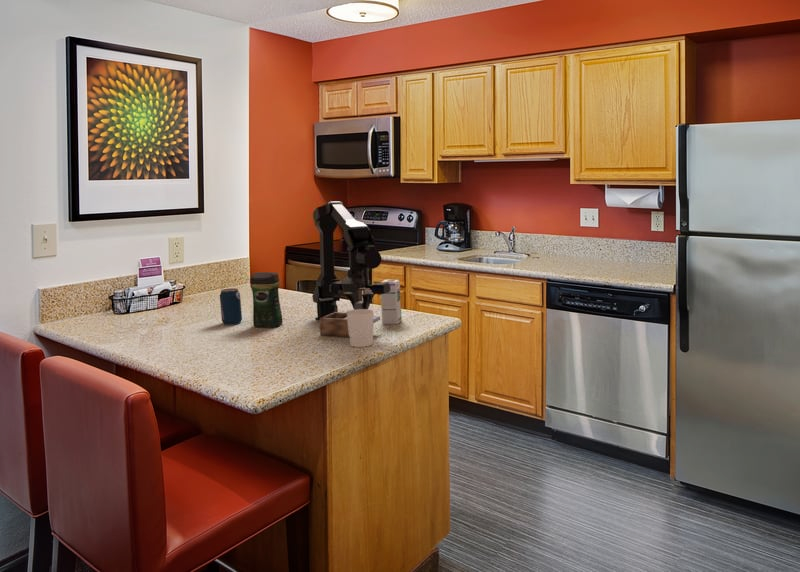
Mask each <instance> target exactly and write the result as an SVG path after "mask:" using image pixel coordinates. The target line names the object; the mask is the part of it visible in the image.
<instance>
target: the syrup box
mask: <svg viewBox="0 0 800 572" xmlns="http://www.w3.org/2000/svg"><path fill="white" fill-rule="evenodd" d="M381 283H389V285H390V292H388V293H385V294H380V304H381V305H380V308H381V324H383V325H384V324H385V325H398V324H399V323H400V322H401V321H402V301H401V284H400V279H393V278H391V279H383V280H382V281H381Z"/></svg>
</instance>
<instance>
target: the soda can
mask: <svg viewBox="0 0 800 572" xmlns="http://www.w3.org/2000/svg"><path fill="white" fill-rule="evenodd" d="M220 291H221V292H220V294H219V301H220V302H219V305H220V316H221V322H222V323H223V324H224V325H225V326H234V325H238V324H240V323H241V322H242V321H243V316H242V315H243V314H242V303H241V302H242V301H241V300H242V299H241V293H240V291H239V288H234V287H233V288H231V287H230V288H223V289H222V290H220Z"/></svg>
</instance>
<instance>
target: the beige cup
mask: <svg viewBox="0 0 800 572" xmlns="http://www.w3.org/2000/svg"><path fill="white" fill-rule="evenodd" d="M346 313H347V323H348V331H349V337H350V338H348V339H349V345H350V346H351V347H353V346H354V347H353V348H367V347H370V345H371V346H372V345H373V342H374V340H373V339H374V337H373V336H374V323H373V316H374V311H373V310H372V309H369V308H368V309H356V310H354V309H351V310H347V311H346ZM366 346H367V347H366Z"/></svg>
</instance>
